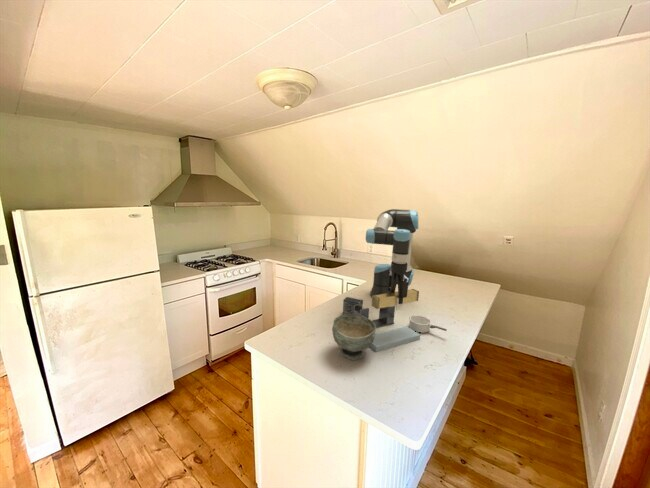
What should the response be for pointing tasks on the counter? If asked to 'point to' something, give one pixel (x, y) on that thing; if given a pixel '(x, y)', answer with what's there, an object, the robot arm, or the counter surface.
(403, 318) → the counter surface
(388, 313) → the grey metal bracket
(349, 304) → the small box
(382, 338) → the board
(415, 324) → the saucepan
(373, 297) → the rail
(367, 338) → the bowl
